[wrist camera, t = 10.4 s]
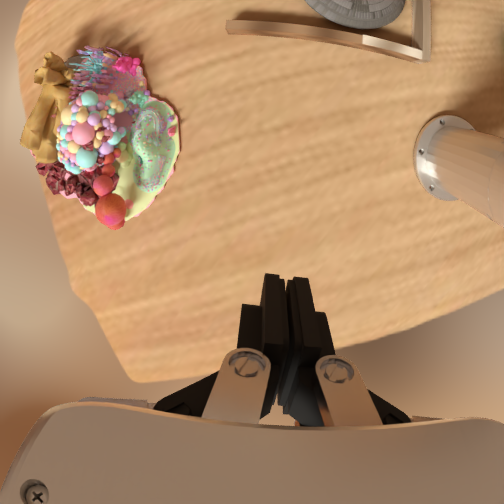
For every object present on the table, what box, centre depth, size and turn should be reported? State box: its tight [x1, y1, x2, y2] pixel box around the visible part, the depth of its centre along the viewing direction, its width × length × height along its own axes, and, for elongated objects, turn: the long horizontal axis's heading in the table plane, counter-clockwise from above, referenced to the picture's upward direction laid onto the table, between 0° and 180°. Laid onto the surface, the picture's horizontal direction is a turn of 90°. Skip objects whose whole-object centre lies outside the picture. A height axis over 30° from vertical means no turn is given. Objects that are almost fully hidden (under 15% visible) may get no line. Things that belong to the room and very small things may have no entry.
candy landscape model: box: [20, 46, 180, 230], centre depth 34 cm, size 25×24×9 cm
